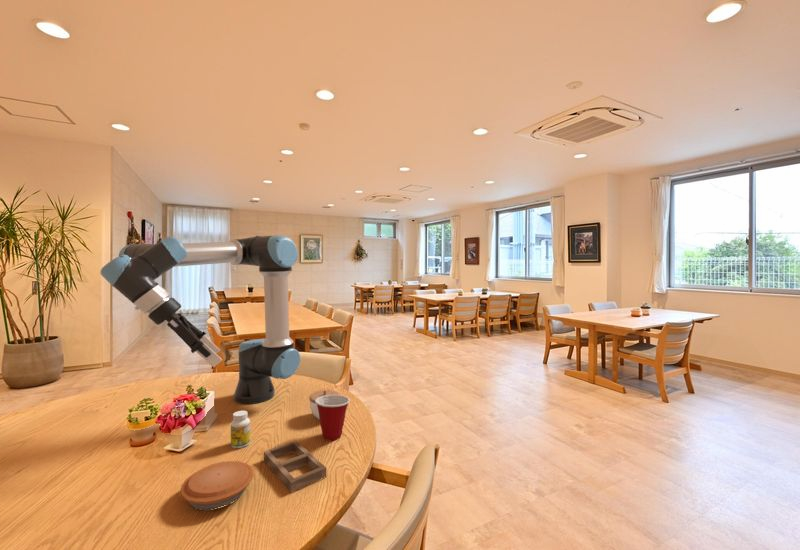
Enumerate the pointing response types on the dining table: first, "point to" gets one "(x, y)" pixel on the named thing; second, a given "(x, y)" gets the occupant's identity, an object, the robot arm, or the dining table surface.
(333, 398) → the plastic cup
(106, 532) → the dining table surface
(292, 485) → the two-window wooden frame
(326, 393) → the lidded jar
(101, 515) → the dining table surface
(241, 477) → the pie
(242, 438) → the supplement bottle
